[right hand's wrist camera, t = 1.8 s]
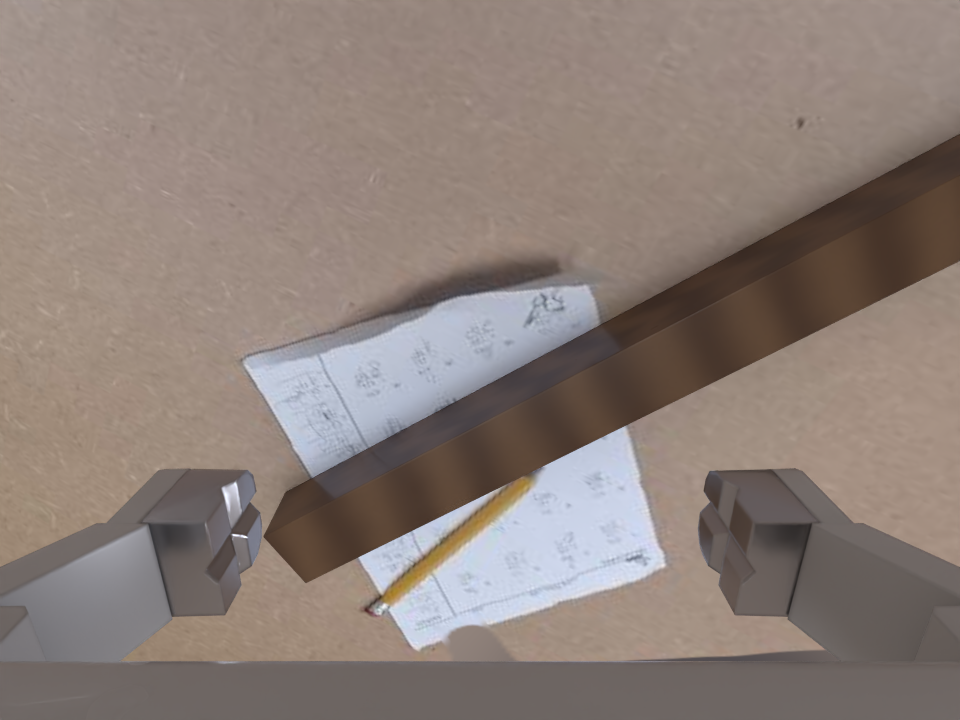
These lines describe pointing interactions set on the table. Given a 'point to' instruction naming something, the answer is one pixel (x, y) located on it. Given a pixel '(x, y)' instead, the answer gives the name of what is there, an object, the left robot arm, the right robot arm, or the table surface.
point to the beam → (633, 364)
